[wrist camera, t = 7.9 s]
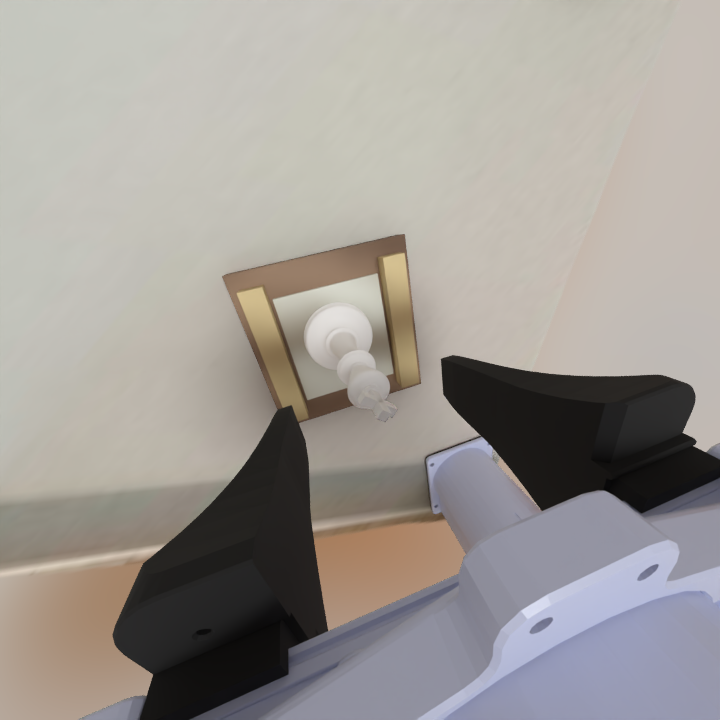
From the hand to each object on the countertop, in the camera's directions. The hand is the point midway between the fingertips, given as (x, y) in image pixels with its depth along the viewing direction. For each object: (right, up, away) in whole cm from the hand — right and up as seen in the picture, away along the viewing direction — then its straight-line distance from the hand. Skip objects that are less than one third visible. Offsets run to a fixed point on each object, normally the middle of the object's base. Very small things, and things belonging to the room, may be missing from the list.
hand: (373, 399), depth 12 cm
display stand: (-2, +4, +8) cm, 10 cm away
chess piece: (-2, +4, +7) cm, 8 cm away
